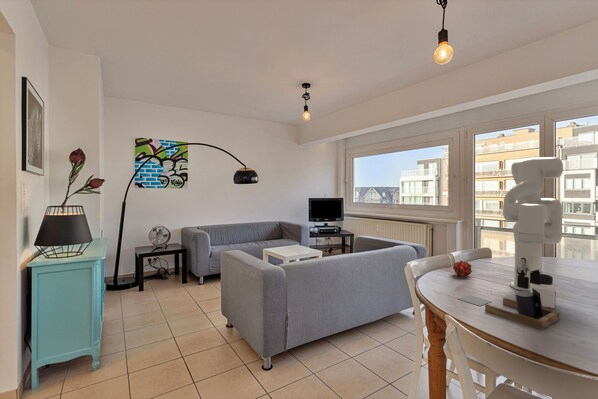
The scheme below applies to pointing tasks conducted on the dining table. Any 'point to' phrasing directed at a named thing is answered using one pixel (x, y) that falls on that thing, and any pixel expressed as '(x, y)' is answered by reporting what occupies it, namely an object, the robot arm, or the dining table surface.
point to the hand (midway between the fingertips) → (529, 285)
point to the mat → (474, 300)
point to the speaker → (529, 303)
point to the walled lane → (537, 323)
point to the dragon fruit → (462, 268)
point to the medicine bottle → (545, 291)
